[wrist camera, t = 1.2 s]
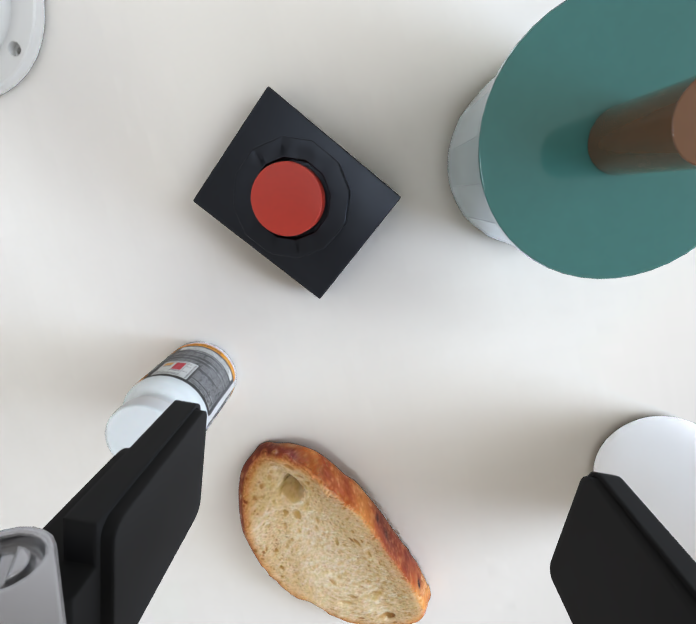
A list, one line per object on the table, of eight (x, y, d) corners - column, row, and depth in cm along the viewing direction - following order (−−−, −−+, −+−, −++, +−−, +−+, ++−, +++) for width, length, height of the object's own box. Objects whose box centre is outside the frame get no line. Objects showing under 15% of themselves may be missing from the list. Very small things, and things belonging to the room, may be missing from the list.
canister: (413, 174, 30) (434, 164, 20) (530, 27, 27) (624, -72, 17) (531, 274, 31) (607, 312, 21) (654, 144, 29) (808, 117, 19)
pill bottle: (167, 338, 34) (88, 394, 25) (237, 341, 34) (184, 398, 24) (173, 402, 36) (101, 478, 26) (240, 405, 36) (192, 483, 26)
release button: (244, 205, 28) (236, 205, 26) (284, 147, 27) (278, 144, 25) (298, 247, 28) (294, 250, 26) (339, 193, 27) (337, 193, 25)
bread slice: (425, 618, 40) (430, 660, 37) (238, 595, 41) (225, 634, 37) (455, 454, 36) (464, 484, 32) (243, 431, 36) (229, 457, 33)
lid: (418, 166, 20) (439, 154, 14) (617, -84, 17) (759, -246, 11) (601, 322, 22) (696, 375, 16) (812, 117, 19) (1038, 77, 13)
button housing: (204, 200, 31) (180, 201, 27) (275, 93, 29) (260, 78, 25) (323, 292, 33) (316, 305, 29) (399, 197, 30) (403, 197, 27)
